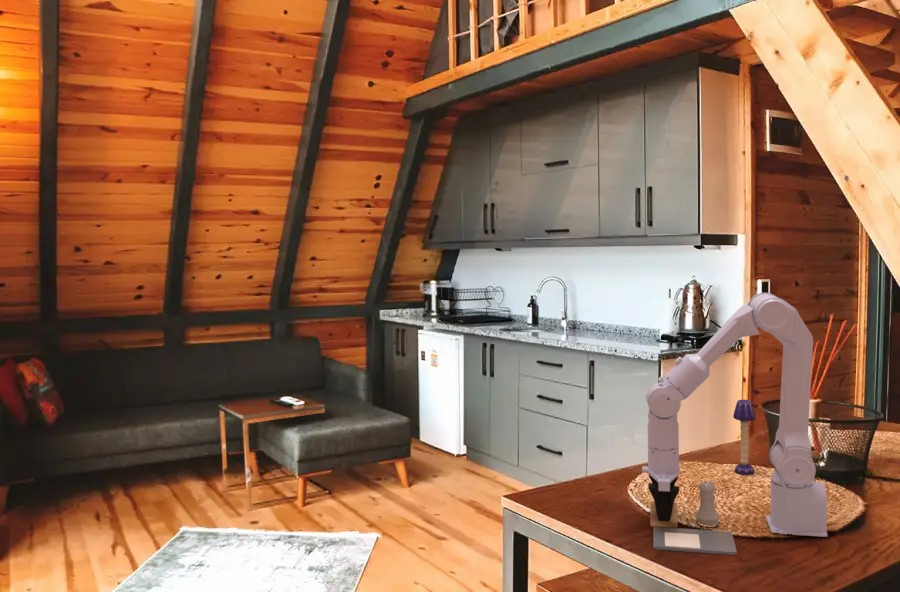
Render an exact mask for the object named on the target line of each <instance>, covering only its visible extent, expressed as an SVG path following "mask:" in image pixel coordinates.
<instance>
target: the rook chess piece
mask: <svg viewBox="0 0 900 592" xmlns="http://www.w3.org/2000/svg"><path fill="white" fill-rule="evenodd" d="M697 488H698V490H699V491H700V494H699V497H700V503H699V507H698V508H699V509H698V510H697V512H696V513H695V519H696V518H697V519H696V521H697V522H699V523H700V524H703V525H708V526H714V525H717V524H718V523H719V524H720V520H719V519H720V515H719V514H718V511H717V510H716V507H715V497H716V496H715V492H716V490H717V487H716V486H715V483H714V482H712V481H711V480H709V481H708V482H707V480H704V481H700V482H699V485H698V487H697ZM718 520H719V521H718ZM696 521H695V522H696ZM719 524H718V525H719Z"/></svg>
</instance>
